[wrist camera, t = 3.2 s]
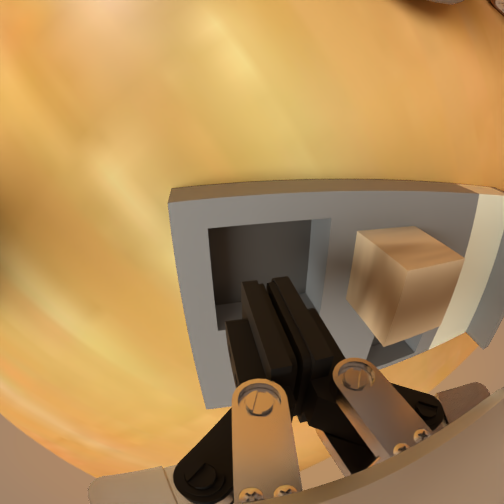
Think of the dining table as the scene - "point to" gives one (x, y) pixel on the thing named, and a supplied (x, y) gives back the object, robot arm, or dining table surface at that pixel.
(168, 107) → the dining table surface
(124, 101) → the dining table surface
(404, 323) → the block
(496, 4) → the tin
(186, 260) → the board
